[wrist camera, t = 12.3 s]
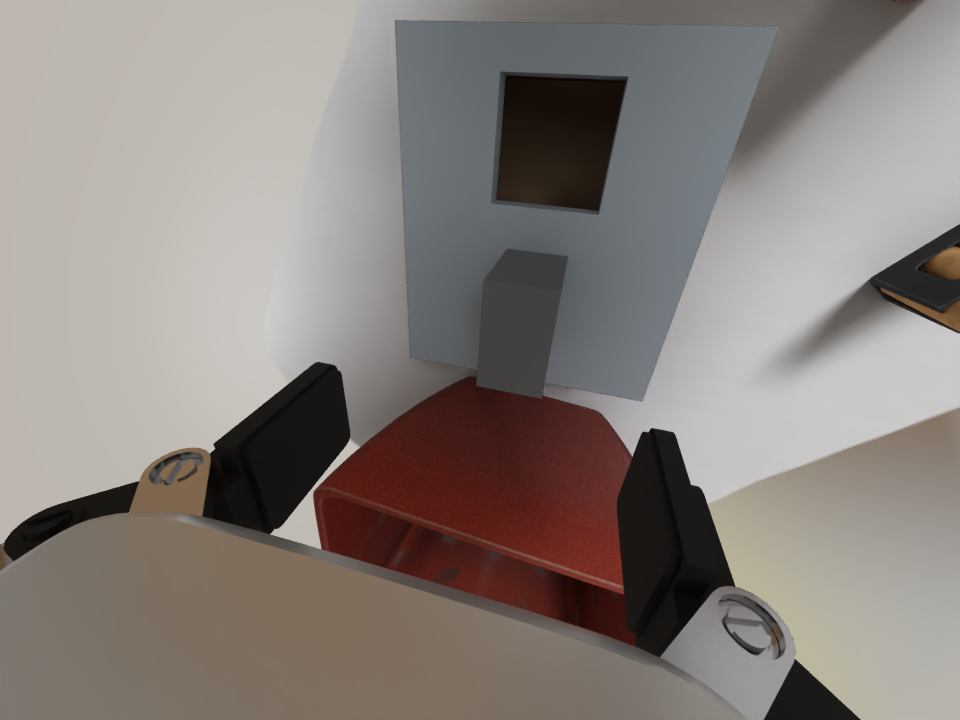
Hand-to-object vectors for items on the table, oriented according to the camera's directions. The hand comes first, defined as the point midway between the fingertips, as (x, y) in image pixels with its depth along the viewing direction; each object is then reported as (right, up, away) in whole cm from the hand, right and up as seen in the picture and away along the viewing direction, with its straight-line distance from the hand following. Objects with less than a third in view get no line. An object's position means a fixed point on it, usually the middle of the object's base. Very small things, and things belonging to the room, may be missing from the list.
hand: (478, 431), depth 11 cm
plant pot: (+4, -6, +25) cm, 26 cm away
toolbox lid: (+3, +9, +8) cm, 12 cm away
